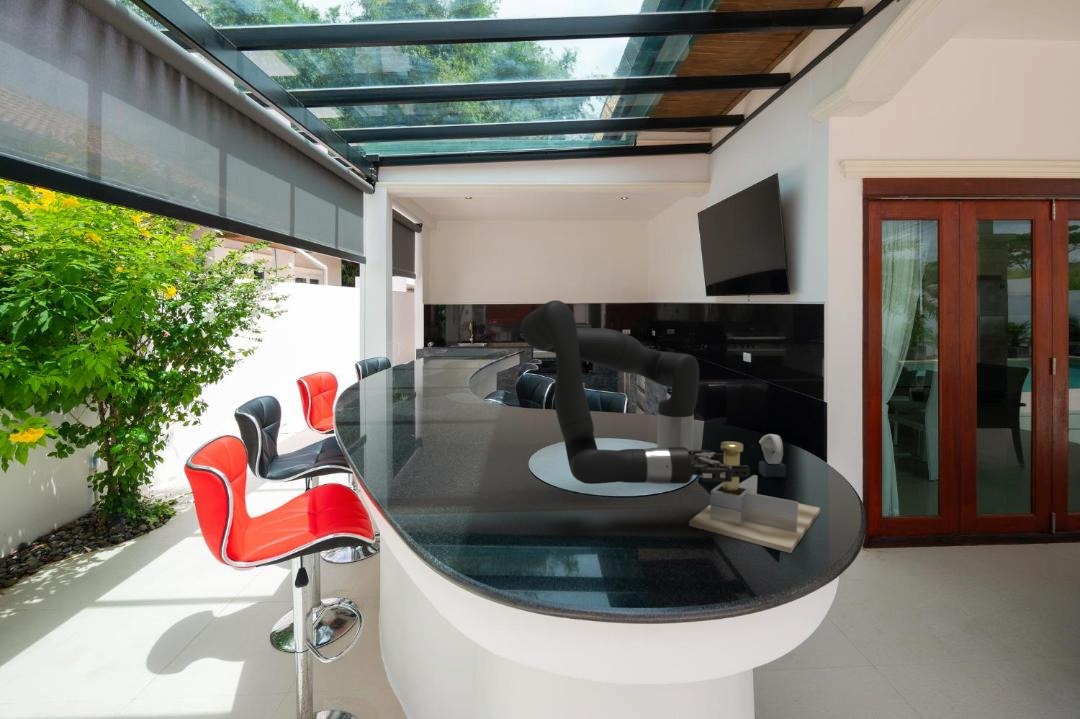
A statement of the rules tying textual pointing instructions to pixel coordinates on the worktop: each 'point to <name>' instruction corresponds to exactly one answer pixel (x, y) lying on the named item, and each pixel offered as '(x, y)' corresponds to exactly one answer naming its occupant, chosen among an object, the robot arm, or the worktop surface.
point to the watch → (772, 457)
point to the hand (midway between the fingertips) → (741, 464)
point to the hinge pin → (731, 464)
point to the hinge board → (760, 529)
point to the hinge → (753, 507)
